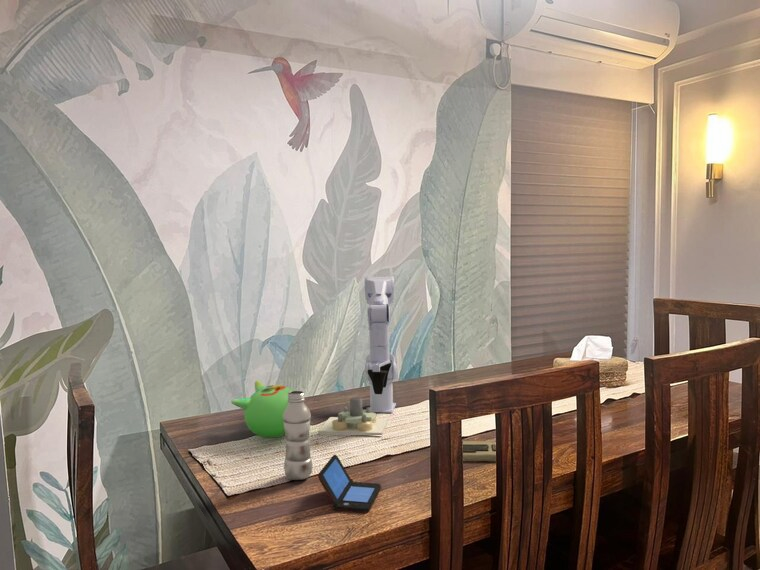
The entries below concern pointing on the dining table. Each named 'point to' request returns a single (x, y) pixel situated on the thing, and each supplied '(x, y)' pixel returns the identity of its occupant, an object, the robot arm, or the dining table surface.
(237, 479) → the dining table surface
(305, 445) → the plastic bottle
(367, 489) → the handheld game console
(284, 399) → the round green creature toy
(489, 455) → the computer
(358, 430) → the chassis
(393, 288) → the robot arm
